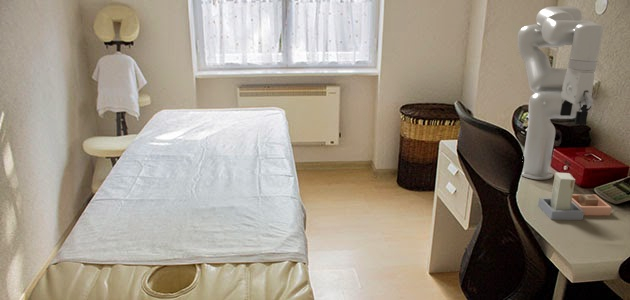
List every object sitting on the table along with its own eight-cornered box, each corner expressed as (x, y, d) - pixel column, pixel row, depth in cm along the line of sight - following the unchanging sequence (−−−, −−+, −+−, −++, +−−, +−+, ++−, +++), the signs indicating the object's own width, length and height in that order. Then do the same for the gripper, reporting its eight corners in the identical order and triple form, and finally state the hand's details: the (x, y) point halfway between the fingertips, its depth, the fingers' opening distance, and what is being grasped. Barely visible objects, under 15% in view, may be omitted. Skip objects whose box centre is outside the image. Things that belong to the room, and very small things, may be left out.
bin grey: (537, 207, 162) (539, 198, 160) (567, 207, 162) (569, 198, 160) (550, 221, 153) (552, 211, 151) (582, 221, 153) (584, 211, 151)
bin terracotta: (564, 203, 164) (566, 194, 163) (593, 204, 164) (595, 194, 163) (578, 217, 155) (580, 207, 154) (609, 217, 155) (611, 207, 154)
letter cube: (577, 205, 161) (579, 193, 160) (589, 205, 161) (592, 194, 160) (583, 211, 158) (585, 199, 156) (596, 211, 158) (598, 199, 156)
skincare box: (569, 216, 154) (576, 180, 150) (554, 215, 155) (560, 179, 151) (563, 207, 160) (569, 172, 156) (548, 206, 161) (555, 171, 156)
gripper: (557, 60, 159) (548, 112, 165) (584, 70, 143) (573, 127, 149) (580, 60, 159) (571, 112, 165) (610, 70, 143) (598, 127, 149)
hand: (572, 119), depth 157 cm, fingers open, 9 cm apart
